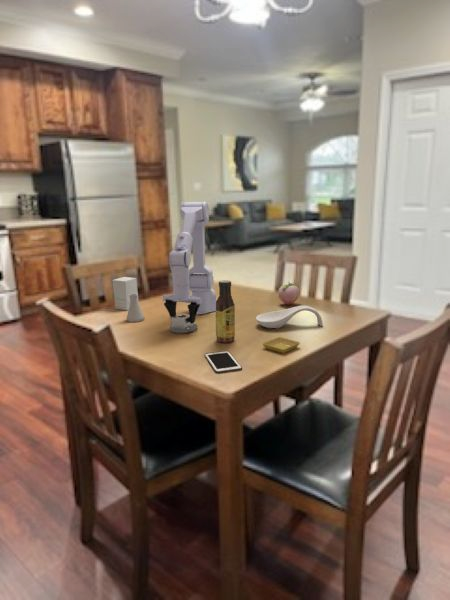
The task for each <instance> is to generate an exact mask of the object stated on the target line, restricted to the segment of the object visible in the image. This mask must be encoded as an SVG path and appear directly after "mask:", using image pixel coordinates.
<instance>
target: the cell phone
mask: <svg viewBox="0 0 450 600" xmlns="http://www.w3.org/2000/svg"><path fill="white" fill-rule="evenodd" d="M204 358H205V359H206V360H207V362H208V364H209V366H211V368H212V370H213V371H214V373H215V374H223V373H224V374H225V373H229V372H230V373H231V372H239V371H243V367H242V365H241V364H240V363H239V361H237V359H236V358H235V357H234V356H233V354H232V353H231V352H230V351H229V350H223V351H222V350H221V351H214V352H206V353H205V354H204Z"/></svg>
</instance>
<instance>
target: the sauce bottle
mask: <svg viewBox="0 0 450 600" xmlns="http://www.w3.org/2000/svg"><path fill="white" fill-rule="evenodd" d="M218 287H219V290H218V291H219V293H218V294H219V295H218V297H217V298H216V311H215V336H216V341H217V342H219V343H225V344H226V343H231V342H233V341H235V338H236V337H235V336H236V310H235V309H236V304H235V302H234V299H233V296H232V291H231V290H232V281H231V280H228V279H227V280H226V279H225V280H222V279H221V280H219V281H218Z"/></svg>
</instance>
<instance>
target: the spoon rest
mask: <svg viewBox="0 0 450 600" xmlns="http://www.w3.org/2000/svg"><path fill="white" fill-rule="evenodd" d="M304 311H306V312H311V314H312V313H313V314H314V315H315V317H316V319H317V321H316V322H317V325H318V326H319V325H320V327H323V325H324V322H323V319H322V316H321V315H320V313H319V312H318V311H317V309H315V308H314V307H312V306H308V305H298V306H294V307H290V308H289V307H288V308H286V309H281V310H275V311H268V312H262V313H261V314H258V315H257V316H256V317H255V321H256V322H257V323H258V324H259V325H260V326H262V327H264V328H267V329H271V328H276V329H281V328H282V327H283V326H285V325H286V324H287V323H288V322H290V320H291V319H292V318H293V317H294V316H296V314H298V313H300V312H304ZM280 327H281V328H280Z"/></svg>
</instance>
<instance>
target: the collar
mask: <svg viewBox="0 0 450 600" xmlns="http://www.w3.org/2000/svg"><path fill="white" fill-rule="evenodd" d="M181 317H185V318H181ZM170 320H171V325H172V328H174V329H179V330H186V329H189V328H191V327H193V326H194V324H195V322H194V323H193V324H190V314H189V313H188V314H187V313H179V314H176V316H173V317H171V318H170Z"/></svg>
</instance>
